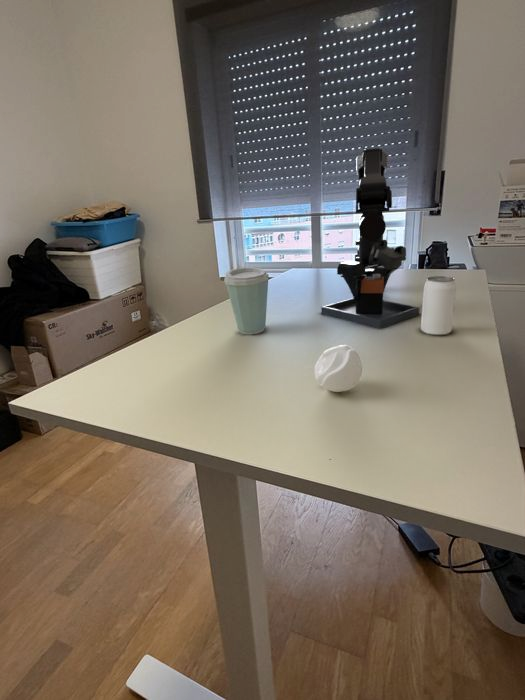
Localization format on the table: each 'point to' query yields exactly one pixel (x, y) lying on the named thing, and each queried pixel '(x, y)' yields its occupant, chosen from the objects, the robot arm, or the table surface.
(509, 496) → the table surface
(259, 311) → the disposable coffee cup
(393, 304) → the tray
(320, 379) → the white ball
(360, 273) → the robot arm
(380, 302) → the battery
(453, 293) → the can
